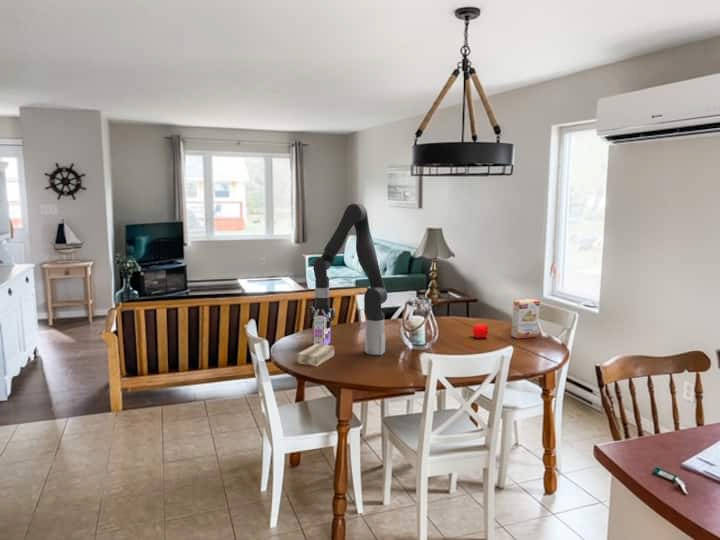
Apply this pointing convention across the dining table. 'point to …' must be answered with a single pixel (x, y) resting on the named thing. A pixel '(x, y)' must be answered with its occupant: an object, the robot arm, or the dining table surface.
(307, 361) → the riser
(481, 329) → the red piece
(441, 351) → the dining table surface
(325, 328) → the candy box
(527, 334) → the cracker box
